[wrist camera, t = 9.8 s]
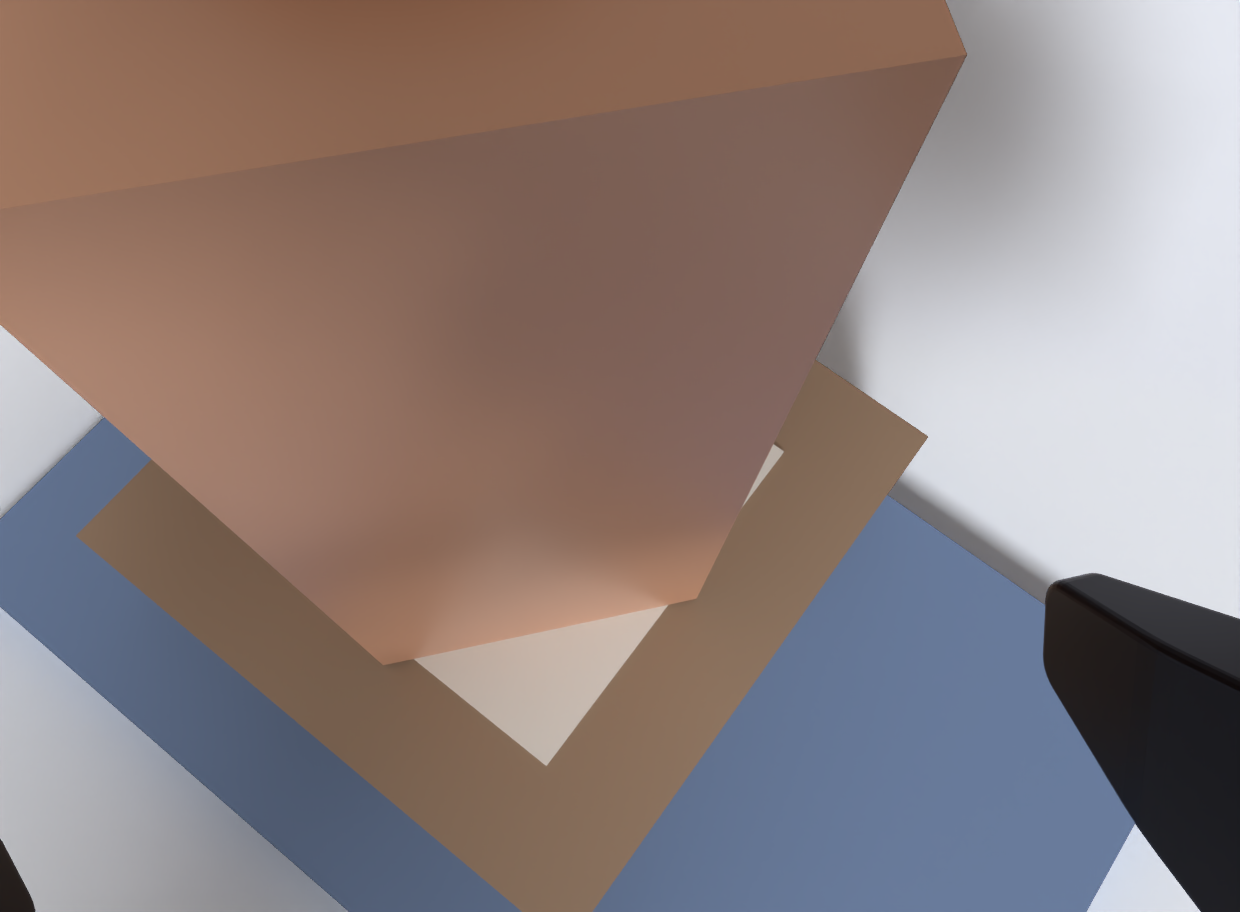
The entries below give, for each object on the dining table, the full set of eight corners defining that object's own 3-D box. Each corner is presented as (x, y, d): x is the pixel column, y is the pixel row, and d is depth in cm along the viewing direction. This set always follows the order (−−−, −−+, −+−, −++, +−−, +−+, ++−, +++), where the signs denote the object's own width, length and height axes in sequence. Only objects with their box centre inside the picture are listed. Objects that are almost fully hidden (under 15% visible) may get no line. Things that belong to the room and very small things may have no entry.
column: (695, 598, 17) (1033, -78, 4) (383, 665, 16) (-245, 105, 4) (628, 323, 19) (732, -744, 6) (341, 375, 18) (-199, -677, 5)
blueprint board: (1168, 717, 21) (1304, 688, 17) (831, 1319, 17) (906, 1458, 13) (391, 170, 24) (356, 44, 20) (-19, 577, 21) (-156, 518, 17)
